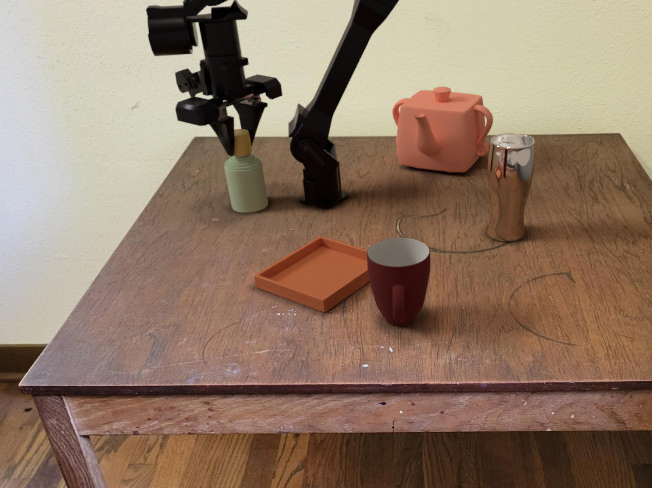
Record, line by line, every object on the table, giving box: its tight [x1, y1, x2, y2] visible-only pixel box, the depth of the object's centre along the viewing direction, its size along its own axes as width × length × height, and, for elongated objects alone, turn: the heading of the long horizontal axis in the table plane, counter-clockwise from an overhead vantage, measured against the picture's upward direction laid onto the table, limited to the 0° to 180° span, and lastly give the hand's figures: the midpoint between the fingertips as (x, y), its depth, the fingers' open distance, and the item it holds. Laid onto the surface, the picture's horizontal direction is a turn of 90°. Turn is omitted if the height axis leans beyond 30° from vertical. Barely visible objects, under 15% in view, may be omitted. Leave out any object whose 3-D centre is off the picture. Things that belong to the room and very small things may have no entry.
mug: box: [367, 237, 431, 327], centre depth 92 cm, size 11×8×10 cm
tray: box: [253, 235, 370, 313], centre depth 105 cm, size 15×13×2 cm
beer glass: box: [486, 132, 536, 243], centre depth 110 cm, size 7×7×15 cm
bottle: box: [223, 153, 269, 214], centre depth 123 cm, size 6×6×12 cm
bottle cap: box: [234, 128, 253, 156], centre depth 120 cm, size 4×4×3 cm
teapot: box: [391, 86, 494, 174], centre depth 133 cm, size 20×19×14 cm
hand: (239, 151), depth 121 cm, fingers open, 4 cm apart
